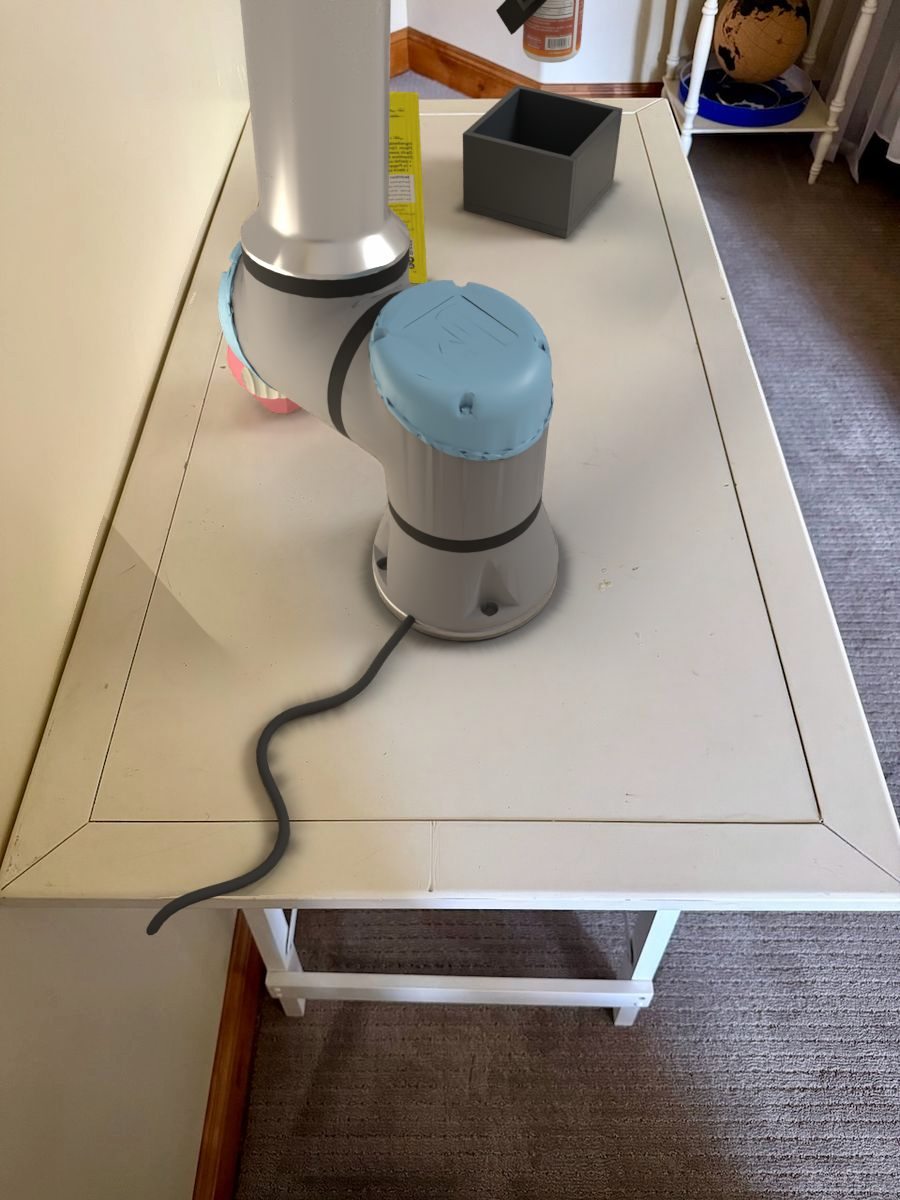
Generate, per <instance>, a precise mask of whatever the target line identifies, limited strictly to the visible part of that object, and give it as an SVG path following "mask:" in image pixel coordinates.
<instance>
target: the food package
mask: <svg viewBox="0 0 900 1200" xmlns="http://www.w3.org/2000/svg"><path fill="white" fill-rule="evenodd" d="M419 103H420V100H419V92H417V91H415V92H412V91H390V110H389V201H388V207H389V208H390V209H391V210H392V211H393V212H394V213H396V214H397V215H398V216H399V217H400V218H401V219H402V220H403V222H404V223H405V224H406V226H407V228H408V230H409V234H410V249H409V259H410V260H409V280H410V283H411V284H417V285H419V284H422V283H425V282H428V273H427V272H428V271H427V252H426V251H427V250H426V229H425V227H426V226H425V207H424V185H423V167H422V166H423V165H422V164H423V163H422V143H421V123H420V104H419Z"/></svg>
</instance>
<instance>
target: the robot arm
mask: <svg viewBox="0 0 900 1200" xmlns="http://www.w3.org/2000/svg"><path fill="white" fill-rule="evenodd" d="M546 1H547V0H504V1H503V2H502V3H501V4H500V6H499V7H497V9H496V10H495V11H496V13H497V14H498V16H499V18H500V19H501V21H502V22H503V24H504V27H506V30H507V31H508V32H509V34H510V35H513V34H515V33H516V32H517V31H518V30H519V29H520V28H521V27H523V24H524V23H525V22H526V21H527V20H528V19H529V18H530V17H531V16H532V15H533V14H534V13H535V12H536V11H537V10H538V9H539V8H540V7H541V6H542V5H543V4H544V3H545V2H546ZM391 3H392V1H391V0H239V4H240V5H239V6H240V14H241V15H240V17H241V24H242V25H241V26H242V35H243V47H244V56H245V57H244V59H245V67H246V76H247V77H246V79H247V89H248V99H249V106H250V107H249V109H250V110H249V111H250V119H251V129H252V141H253V150H254V162H255V172H256V173H255V174H256V183H257V192H258V203H259V204H258V206H257V207H256V208H255V209H254V210H253V211H252V212H251V213H250V214H249V215H248V217H246V218H245V220H244V221H243V223H242V224H241V227H240V233H239V235H240V237H239V238H240V240H239V241H238V242H237V243H236V245H235V246H234V247H233V249H232V250H231V253H230V255H229V257H228V260H229V261H230V263H231V265H230V267H229V269H228V270H227V271H222V273H221V277H220V280H219V286H218V294H217V310H218V318H219V322H220V327H221V331H222V333H223V336H224V339H225V341H226V343H227V345H228V344H229V346H230V348H231V349H232V351H233V353H234V354H235V355H236V356H237V358H238V359H239V360H240V361H241V362H242V363H243V364H244V365H245V366H246V367H248V368H249V369H250V370H251V371H252V372H253V374H255V375H256V376H257V377H258V378H259V379H260V381H261V382H263V383H264V384H265V385H266V386H268V387H269V388H271V389H274V390H276V391H278V392H280V394H282V395H284V396H285V397H287V398H288V399H290V400H291V401H293V402H294V403H296V404H297V405H299V406H300V407H302V408H301V409H303V410H305V411H306V412H307V413H309V414H311V415H312V416H314V417H315V418H317V420H319V421H321V422H322V423H324V424H325V425H327V426H328V427H330V428H331V429H333V430H334V431H335V432H337V433H339V434H340V435H342V436H343V437H345V438H347V439H348V440H349V441H351V442H352V443H354V444H355V445H357V446H358V447H359V448H361V449H362V450H364V451H365V452H367V453H368V454H369V455H371V456H372V457H374V458H375V459H376V460H377V461H378V462H379V463H380V465H381V466H382V468H383V470H384V480H385V486H386V487H385V488H386V496H387V503H386V505H385V508H384V511H383V513H382V516H381V519H380V522H379V524H378V528H377V531H376V533H375V536H374V540H373V544H372V545H373V546H372V554H371V555H372V556H371V564H372V573H373V579H374V583H375V587H376V590H377V593H378V595H379V597H380V599H381V600H382V602H383V604H384V605H385V606H386V608H387V609H388V610H389V611H390V612H391V613H392V614H393V616H395V617H396V618H397V619H399V620H400V622H401V623H400V624H399V626H398V627H397V628H396V630H395V631H394V632H393V634H392V635H391V636H390V637H389V638H388V640H387V641H386V642H385V644H384V645H383V646H382V648H381V649H379V652H378V653H377V654H376V656H375V658H374V659H373V661H372V662H371V664H370V665H369V667H368V668H367V670H366V671H365V672H364V674H363V675H362V676H361V677H360V678H359V679H358V680H357V682H355V683H354V684H353V685H352V686H350V687H348V688H347V689H346V690H344V691H341V692H340V693H337V694H335V695H333V696H329V697H326V698H322V699H318V700H315V701H310V702H305V703H302V704H299V705H297V706H293V707H290V708H288V709H286V710H284V711H282V712H280V713H279V714H277V715H276V716H274V717H273V718H272V719H271V720H270V721H269V722H268V723H267V725H266V726H265V727H264V728H263V730H262V732H261V733H260V735H259V738H258V740H257V745H256V749H255V756H256V765H257V769H258V773H259V777H260V778H261V780H262V784H263V785H264V788H265V790H266V792H267V794H268V797H269V799H270V801H271V803H272V806H273V808H274V811H275V814H276V818H277V821H278V833H277V834H278V835H277V840H276V842H275V843H274V847H273V849H272V851H271V852H270V853H269V855H268V856H267V858H266V859H265V860H264V861H263V862H262V863H260V864H259V865H258V866H256V867H255V868H254V869H251V870H250V871H248V872H246V873H244V874H242V875H239V876H237V877H235V878H232V879H228V880H225V881H222V882H219V883H215V884H212V885H208V886H205V887H202V888H199V889H196V890H193V891H190V892H188V893H185V894H182V895H180V896H178V897H176V898H174V899H173V900H171V901H170V902H168V903H167V904H166V905H164V906H163V907H162V908H161V909H160V910H159V911H157V913H156V914H155V915H154V916H153V917H152V919H151V920H150V921H149V923H148V925H147V927H146V929H145V933H146V934H147V935H148V936H154V935H156V934H157V933H158V932H159V931H160V929H161V928H162V926H163V925H164V923H166V921H167V920H168V919H169V918H171V916H173V915H175V914H176V913H177V912H179V911H180V910H183V909H185V908H188V907H189V906H192V905H195V904H198V903H200V902H204V901H206V900H211V899H213V898H217V897H220V896H223V895H227V894H230V893H234V892H237V891H239V890H242V889H244V888H246V887H248V886H251V885H253V884H254V883H256V882H258V881H260V880H261V879H262V878H264V877H266V876H267V875H268V874H269V873H270V872H271V871H272V870H273V869H275V868H276V866H277V865H278V864H279V862H280V860H281V859H282V858H283V856H284V854H285V851H286V849H287V847H288V845H289V840H290V834H291V833H290V832H291V828H290V827H291V826H290V817H289V813H288V809H287V806H286V804H285V801H284V799H283V798H284V797H283V796H282V794H281V792H280V790H279V788H278V786H277V785H278V784H277V783H276V781H275V779H274V776H273V775H272V772H271V770H270V767H269V763H268V757H267V756H268V755H267V752H268V746H269V743H270V741H271V739H272V737H273V735H274V734H275V732H276V731H277V730H278V729H279V728H280V727H281V726H282V725H284V724H285V723H287V722H289V721H290V720H292V719H294V718H298V717H302V716H304V715H308V714H311V713H316V712H320V711H323V710H327V709H330V708H334V707H337V706H339V705H342V704H344V703H346V702H348V701H350V700H352V699H353V698H355V697H356V696H358V695H359V694H361V693H362V692H363V691H364V690H365V689H366V688H367V687H368V686H369V685H370V684H371V683H372V681H374V678H375V677H376V676H377V675H378V673H379V671H380V670H381V668H382V667H383V665H384V663H385V662H386V660H387V659H388V657H390V655H391V654H392V652H393V651H394V650H395V648H396V647H397V646H398V645H399V644H400V642H401V640H402V639H403V638H404V637H405V635H407V633H408V631H409V630H410V629H411V628H412V629H413V630H416V631H418V632H420V633H422V634H425V635H428V636H431V637H434V638H438V639H441V640H442V639H443V640H449V641H460V642H468V641H470V642H471V641H472V642H473V641H481V640H487V639H492V638H496V637H499V636H503V635H506V634H508V633H510V632H513V631H515V630H517V629H518V628H520V627H522V626H523V625H525V624H527V623H528V622H529V621H531V620H532V619H533V618H535V617H536V616H537V615H538V614H539V613H541V611H542V610H543V608H544V607H545V606H546V604H547V603H548V602H549V600H550V599H551V596H552V595H553V593H554V590H555V588H556V584H557V580H558V575H559V574H558V573H559V565H560V553H559V545H558V539H557V536H556V533H555V530H554V528H553V526H552V524H551V521H550V518H549V515H548V512H547V509H546V507H545V504H544V502H543V491H544V490H543V489H544V479H545V470H546V459H547V458H546V456H547V448H548V447H547V446H548V437H549V427H550V420H551V418H552V414H553V409H554V382H553V376H552V375H553V373H552V372H553V371H552V370H553V369H552V368H553V367H552V365H553V363H552V361H553V360H552V354H551V347H550V344H549V341H548V339H547V336H546V334H545V332H544V330H543V328H542V327H541V325H540V323H539V322H538V321H537V319H536V318H535V317H534V316H533V314H532V313H531V312H530V311H529V310H528V309H527V308H526V307H525V306H524V305H522V304H521V303H520V302H519V301H517V300H516V299H514V298H513V297H511V296H510V295H507V294H506V293H504V292H502V291H500V290H498V289H496V288H494V287H491V286H488V285H484V284H481V283H477V282H473V281H468V282H467V283H466V284H465V285H464V286H460V285H456V283H455V282H454V280H452V279H441V280H440V279H439V280H431V281H427V282H425V283H422V284H421V283H419V284H415V285H412V283H410V280H409V260H410V259H409V249H410V234H409V230H408V228H407V226H406V224H405V223H404V222H403V220H402V219H401V218H400V217H399V216H398V215H397V214H396V213H394V212H393V211H392V210H391V209H390V208H389V207H388V201H389V110H390V92H391V20H392V19H391V17H392V16H391V13H392V12H391V11H392V10H391V8H392V7H391V5H392V4H391Z"/></svg>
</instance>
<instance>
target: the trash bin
mask: <svg viewBox="0 0 900 1200" xmlns="http://www.w3.org/2000/svg"><path fill="white" fill-rule="evenodd" d="M623 109H624V108H622V107H617V106H613V105H609V104H604V103H600V102H596V101H591V100H587V99H582V98H580V97H575V96H574V97H573V96H570V95H565V94H561V93H557V92H553V91H549V90H548V91H547V90H545V89H544V90H543V89H539V88H534V87H531V86H527V85H521V84H516V85H515V86H514V87H513V88H511V90H509V92H507V93H506V94H505V95H504V96H503V97H502V98H501V99H499V100H498V102H496V103H495V104H494V105H492V107H491V108H489V109H488V110H487V111H486V112H485V113H484V114H482V115H481V116H480V117H479V118H478V119H477V120H476V121H475V122H474V123H473V124H472V125H471V126H469V128H467V129H466V130H465V131H464V132H462V201H463V203H462V205H463V207H462V209H463V211H467V212H470V213H474V214H478V215H481V216H485V217H489V218H492V219H495V220H498V221H502V222H507V223H509V224H512V225H513V224H514V225H517V226H521V227H524V228H528V229H531V230H535V231H538V232H542V233H545V234H548V235H552V236H556V237H559V238H564V239H568V237H569V236H570V235H571V234H572V233H573V231H574V230H575V229H576V228H577V227H578V226H579V225H580V223H582V221H584V219H585V218H586V217H587V215H588V214H589V213H590V212H591V210H592V209H594V207H595V206H596V205H597V204H598V203H599V201H600V200H601V199H602V198H603V197H604V195H606V193H607V192H608V191H609V189H610V188H611V187H612V186H613V185H614V180H615V173H616V164H617V156H618V149H619V141H620V132H621V125H622V116H623Z"/></svg>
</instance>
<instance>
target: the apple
mask: <svg viewBox="0 0 900 1200" xmlns="http://www.w3.org/2000/svg"><path fill="white" fill-rule="evenodd" d="M226 361H227V365H228V368H229V370H230V373H231V374H232V376H233V377H234V379H235V380H236V381H237V382H238V384H240V386H241V387H242V388H244V389H245V390H246V391H248V392H249V394H251V395H252V396H253V397H254V398H255V399H256V400H257V401H258V402H260V403H261V404H262V405H264V407H265V408H266V409H267V410H268V411H269V412H270V413H276V414H283V415H285V414H286V415H288V414H291V413H292V412H294V411H297V410H299V409H303V408H302V407H300V406H299V405H297V404H296V403H294V402H293V401H291V400H290V399H288V398H287V397H285V396H284V395H282V394H280V392H278V391H276V390H274V389H271V388H269V387H268V386H266V385H265V384H264V383H263V382H261V381H260V379H259V378H258V377H257V376H256V375H255V374H253V372H252V371H251V370H250V369H249V368H248V367H246V366H245V365H244V364H243V363H242V362H241V361H240V360H239V359H238V358H237V356H236V355H235V354H234V353H233V351H232V349H231V348H230V346H229V344H228V343H227V349H226Z"/></svg>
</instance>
